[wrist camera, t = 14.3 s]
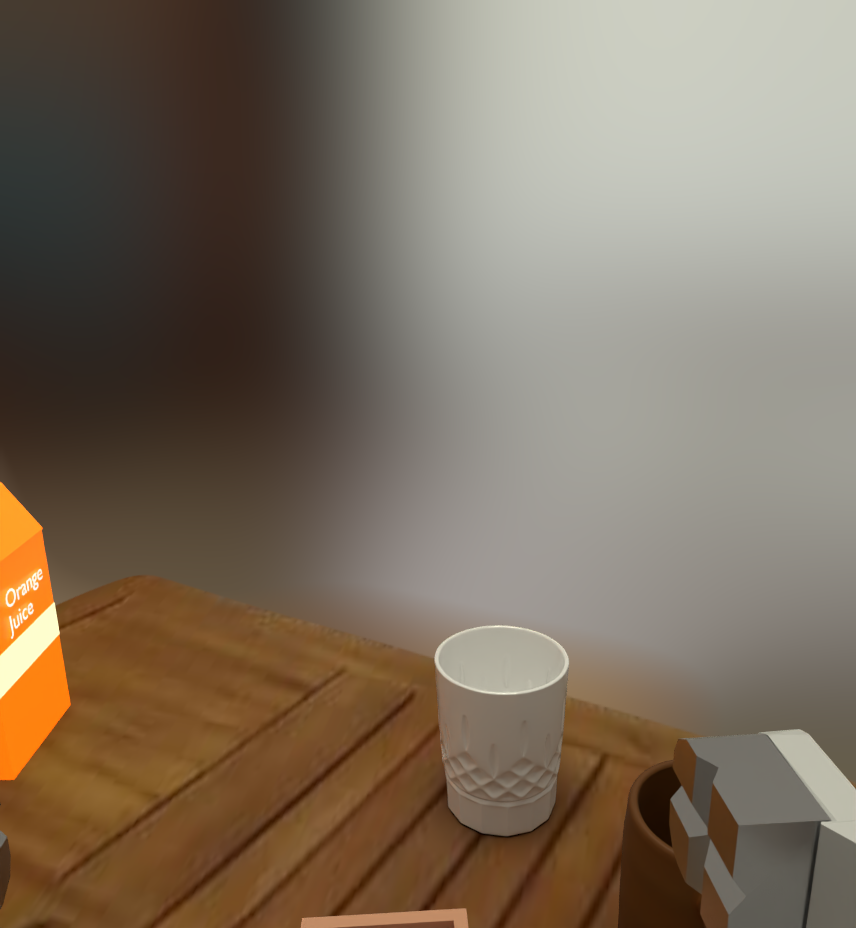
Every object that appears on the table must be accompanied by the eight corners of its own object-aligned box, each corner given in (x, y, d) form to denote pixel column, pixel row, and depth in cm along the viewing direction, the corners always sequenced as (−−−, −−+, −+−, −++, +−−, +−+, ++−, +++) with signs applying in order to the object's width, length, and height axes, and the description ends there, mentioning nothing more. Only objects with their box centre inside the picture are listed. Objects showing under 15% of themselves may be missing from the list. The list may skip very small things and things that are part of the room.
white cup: (500, 744, 56) (500, 613, 53) (590, 802, 50) (596, 658, 47) (411, 796, 51) (407, 654, 48) (501, 866, 45) (502, 711, 43)
